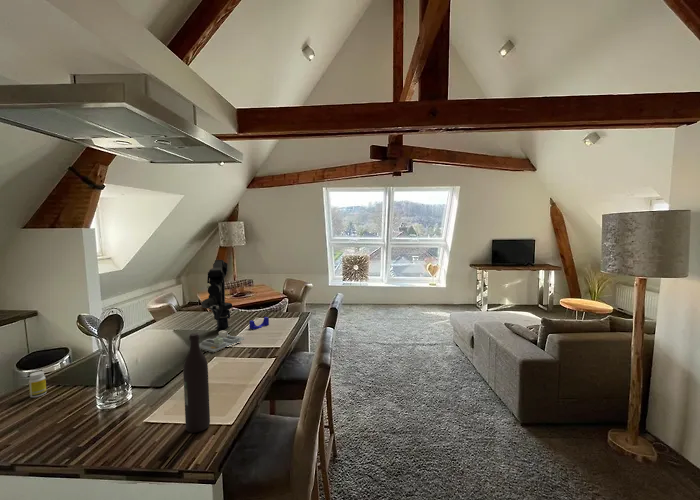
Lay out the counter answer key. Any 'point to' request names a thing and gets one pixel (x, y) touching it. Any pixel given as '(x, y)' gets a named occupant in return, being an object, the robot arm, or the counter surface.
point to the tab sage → (218, 340)
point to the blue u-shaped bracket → (264, 323)
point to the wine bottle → (196, 388)
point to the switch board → (212, 347)
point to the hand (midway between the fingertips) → (217, 320)
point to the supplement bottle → (37, 384)
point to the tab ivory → (223, 334)
